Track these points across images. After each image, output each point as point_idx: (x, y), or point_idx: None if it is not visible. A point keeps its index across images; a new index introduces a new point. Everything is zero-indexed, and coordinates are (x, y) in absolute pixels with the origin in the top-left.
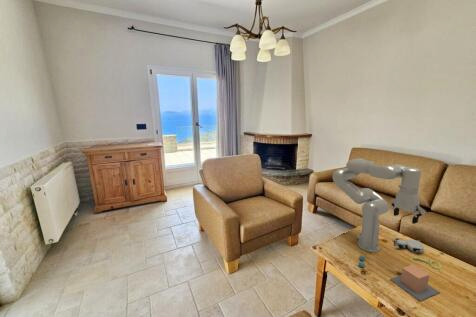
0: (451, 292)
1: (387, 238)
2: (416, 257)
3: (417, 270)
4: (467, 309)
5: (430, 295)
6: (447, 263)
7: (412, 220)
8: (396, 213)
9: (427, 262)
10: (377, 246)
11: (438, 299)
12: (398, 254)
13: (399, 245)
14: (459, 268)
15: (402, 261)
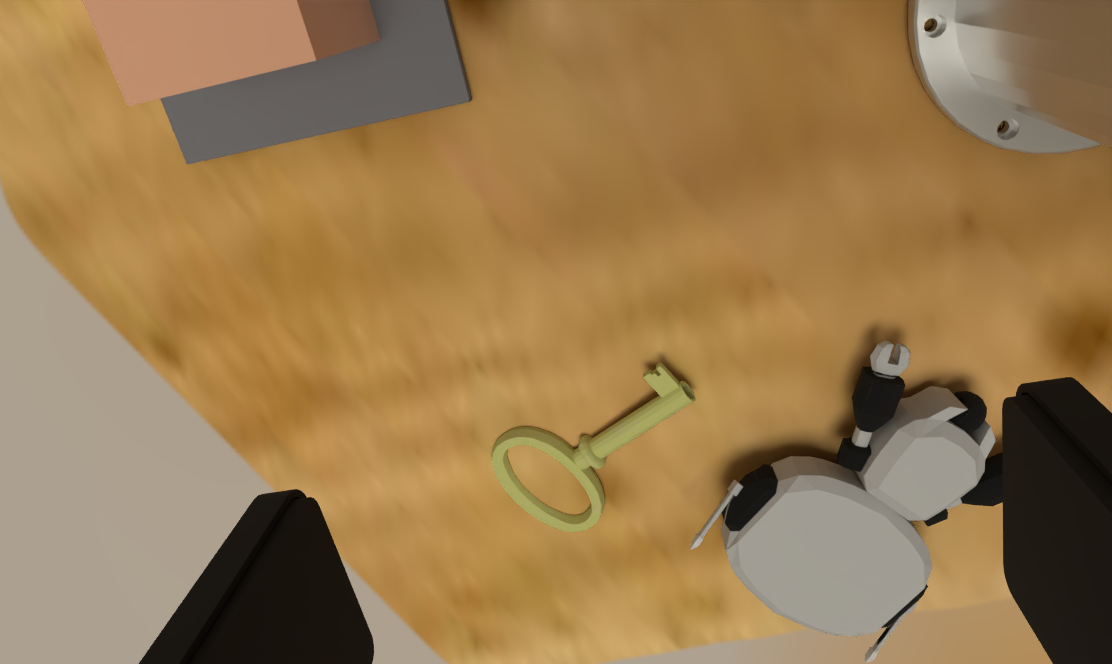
0: (209, 278)
1: None
2: (663, 401)
3: (195, 15)
4: (32, 218)
5: None
6: (558, 597)
7: (265, 564)
8: (1051, 525)
9: (584, 441)
10: (996, 109)
11: None
12: (786, 276)
13: (882, 390)
14: (487, 620)
15: (662, 211)
